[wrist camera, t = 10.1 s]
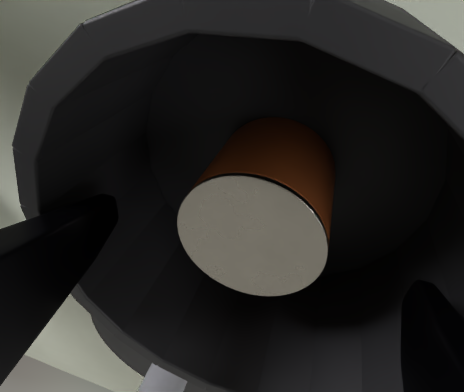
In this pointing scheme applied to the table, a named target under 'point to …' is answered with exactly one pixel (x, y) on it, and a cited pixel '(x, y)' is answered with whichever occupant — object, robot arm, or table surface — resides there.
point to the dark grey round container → (208, 146)
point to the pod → (262, 209)
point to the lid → (145, 367)
